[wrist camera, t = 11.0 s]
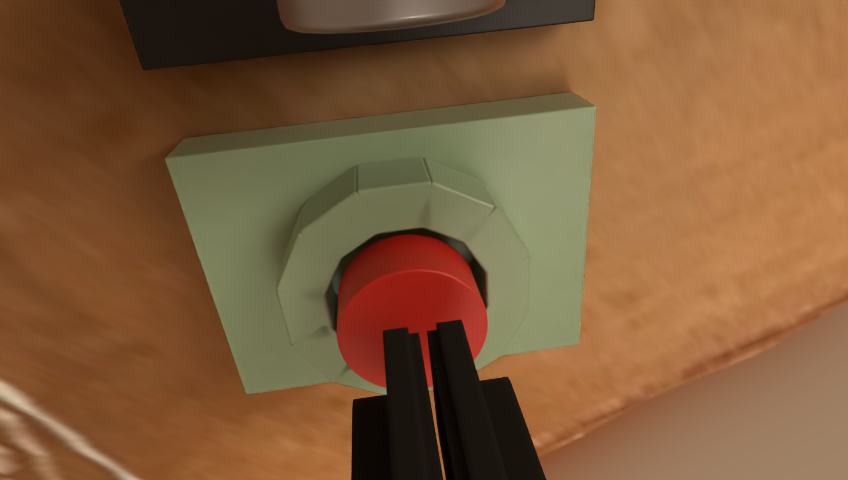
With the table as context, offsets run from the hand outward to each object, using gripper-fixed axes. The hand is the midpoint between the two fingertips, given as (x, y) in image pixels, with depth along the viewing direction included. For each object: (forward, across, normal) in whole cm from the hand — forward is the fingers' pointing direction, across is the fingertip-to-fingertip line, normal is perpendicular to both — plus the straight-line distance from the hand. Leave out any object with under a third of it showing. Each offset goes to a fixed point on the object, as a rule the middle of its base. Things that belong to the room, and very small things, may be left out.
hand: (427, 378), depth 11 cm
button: (+3, 0, 0) cm, 3 cm away
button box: (+6, 0, 0) cm, 6 cm away
